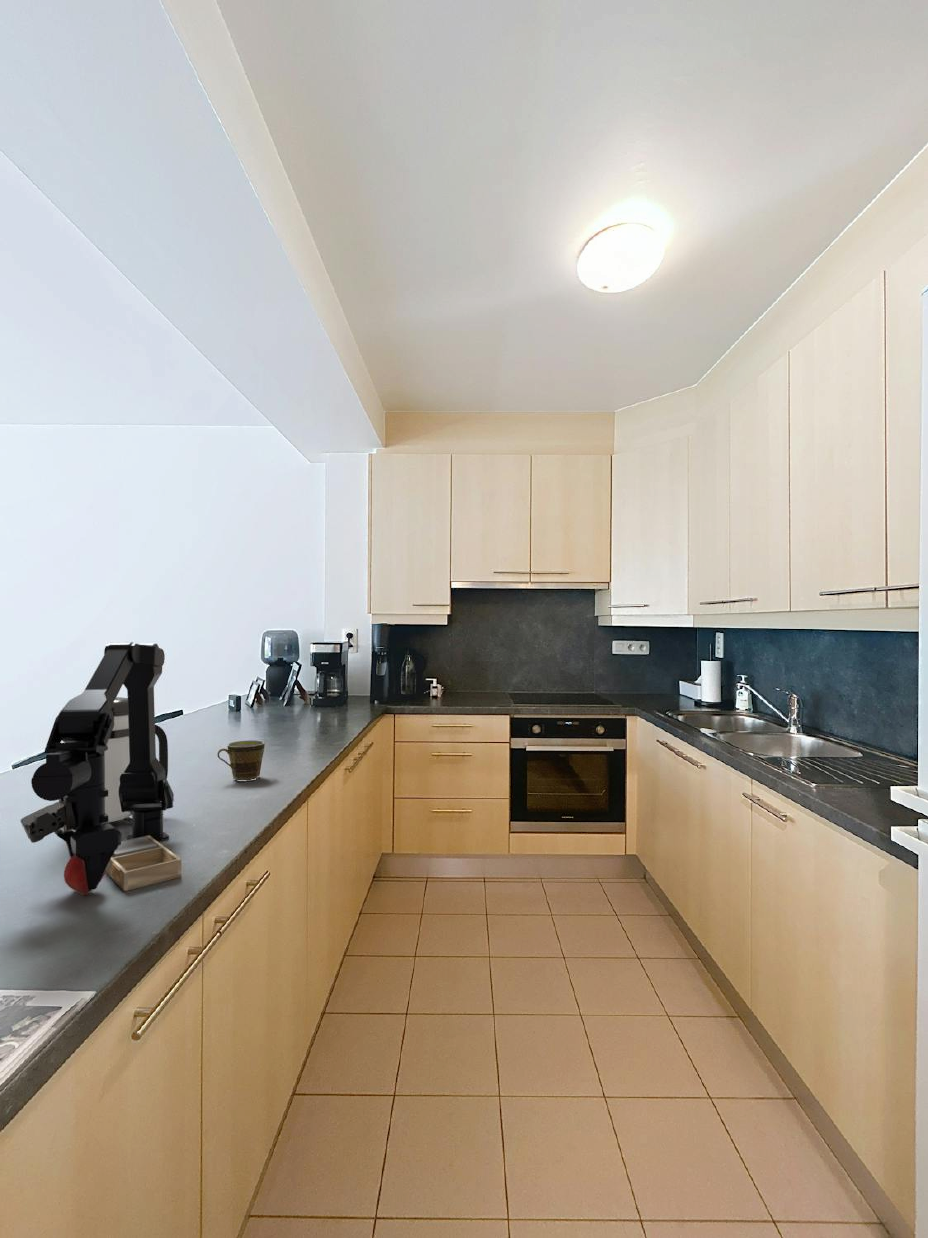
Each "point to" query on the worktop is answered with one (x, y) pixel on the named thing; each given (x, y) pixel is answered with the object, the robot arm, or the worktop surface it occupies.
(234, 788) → the worktop surface
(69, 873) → the red rounded piece
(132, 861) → the wooden compartment tray
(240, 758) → the ceramic cup
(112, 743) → the coffee press
